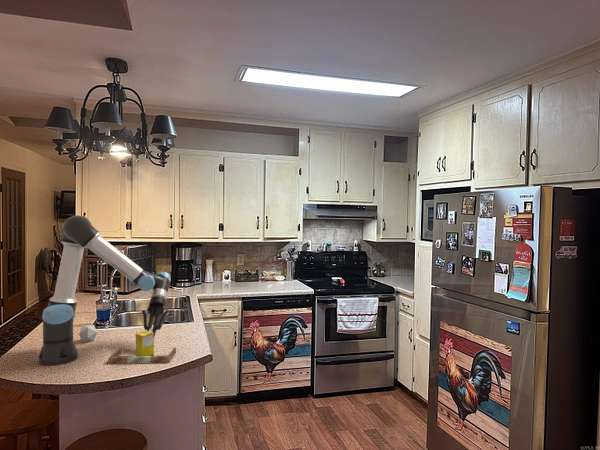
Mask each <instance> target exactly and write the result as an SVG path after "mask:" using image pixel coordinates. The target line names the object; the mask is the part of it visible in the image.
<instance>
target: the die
mask: <svg viewBox="0 0 600 450" xmlns="http://www.w3.org/2000/svg"><path fill="white" fill-rule="evenodd" d="M97 334H98V331H97V329H96V327H95V325H94V324H90V325H89V324H88V325H82V326H81V328H80V331H79V333H78V335H79V338H80V340H81V342H82V343H88V342H94V341H95V339H96V336H97Z"/></svg>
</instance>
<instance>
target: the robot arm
mask: <svg viewBox="0 0 600 450" xmlns="http://www.w3.org/2000/svg"><path fill="white" fill-rule="evenodd" d="M61 235H62V236H61V240H60V242H61V244H62V245H63V249H62V254H61V259H60V265H59V269H58V274H57V278H56V283H55V284H56V285H55V290H54V293H53V296H52V297H50V298H49V300H48V305H47V307H46V308H44V309H43V311H42V315H41V316H42V317H41V318H42V345H41V349H40V352H39V354H38V364H39V365H43V366H57V365H64V364H67V363H70V362H73V361H75V360H76V359H77V358H79V356H78V355H79V351H78V349H77V346H76V343H75V342H74V341H75V340H74V319H75V317H76V316H75V315H76V308H77V304H78V300H77V299H76V297H75V296H76V290H77V286H78V282H79V281H78V280H79V276H80V271H81V265H82V262H83V256H84V255H83V254H84V251H85V249H88V250H90V252H92V253H94V254H95V255H96V256H98V258H100V259H102V260H103V261H105V263H107V264H108V265H110V266H111V267H113V269H114V270H116V271H117V272H118V273H120V274H121V275H123V277H126V278H127V279H128V280H129V282H130V283H132V284H134V285H136V287H138V288H139V289H140V290H141V291H145V292H147V291H148V292H149V291H150V290H152V292H151V297H150V301H149V305H148V307H147V308H146V309H145V310H144V309H143V310H142V311H141V313H142V316H143V328H144V330H145V331H149V332H152V333H154V337H155V336H156V334H157V333H156V332H157V331H158V330H159V331H160V330H161V329H162V326H164V325H163V324H164V323H165V320H166V318H167V317H168V315H170V313H169V310H166V308H165V306H166V302H167V297H168V293H169V287H170V285H171V275H170V274H169V273H168V272H166V271H158V272H157V273H156V274H155V273H152V272H148V271H146V270H144V269H143V268H142V267H140V265H138V264H137V263H136V262H134V261H133V260H132V259H130V257H128V256H127V255H126V254H124V253H123V252H122V251H120V250H119V249H118V248H116V246H114V245H113V244H111V243H110V242H109V241H108V240H106V239H105V238H104V237H103V236H101V234H100V231H99V230H97V229H96V228H95V227H94V226H93V225H92V223H91V220H89V219H88V217H85V216H83V215H72V216H70V217H68V218H67V219H65V221H64V222H63V225H62V234H61ZM148 314H149V320H148V316H147V315H148Z"/></svg>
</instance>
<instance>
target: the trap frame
mask: <svg viewBox="0 0 600 450" xmlns="http://www.w3.org/2000/svg"><path fill="white" fill-rule="evenodd" d="M176 354H177V347H173V349H172V350H171V351H170V352H169V354H168V355H154V356H140V357H136V356H134V355H122V348H120V347H119V348H118V349H117V350H115V352H113V353H112V354H110V356H109V357H107V358H108V363H107V364H146V363H147V364H154V363H156V364H157V363H160V364H161V363H167V364H168V363H170V362H171V361H172V359H173V358H174V357H175V356H176Z"/></svg>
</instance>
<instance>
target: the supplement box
mask: <svg viewBox="0 0 600 450" xmlns="http://www.w3.org/2000/svg"><path fill="white" fill-rule="evenodd" d="M140 356H155V336H154V333H152V332H149V331H147V330H145V331H140V332H136V333H135V357H140Z"/></svg>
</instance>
